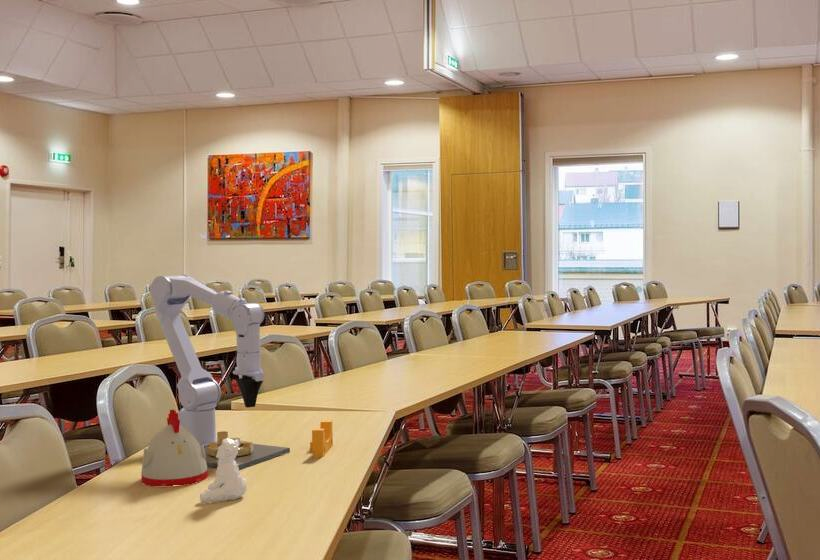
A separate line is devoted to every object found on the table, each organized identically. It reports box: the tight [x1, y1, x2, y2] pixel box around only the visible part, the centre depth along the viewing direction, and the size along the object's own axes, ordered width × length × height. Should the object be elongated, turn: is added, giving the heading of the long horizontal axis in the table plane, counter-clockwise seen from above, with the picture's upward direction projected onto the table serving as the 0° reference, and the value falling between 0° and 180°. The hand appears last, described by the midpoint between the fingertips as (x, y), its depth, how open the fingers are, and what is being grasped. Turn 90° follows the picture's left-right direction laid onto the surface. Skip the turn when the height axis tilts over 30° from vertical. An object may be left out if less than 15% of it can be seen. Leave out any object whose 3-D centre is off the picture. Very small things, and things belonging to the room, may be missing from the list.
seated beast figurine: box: [199, 437, 247, 504], centre depth 183 cm, size 10×9×12 cm
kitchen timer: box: [140, 409, 209, 487], centre depth 198 cm, size 14×14×15 cm
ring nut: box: [207, 431, 255, 457], centre depth 218 cm, size 11×10×6 cm
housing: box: [204, 437, 291, 471], centre depth 218 cm, size 20×20×4 cm
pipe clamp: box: [309, 420, 334, 458], centre depth 222 cm, size 12×4×6 cm, turn 174°
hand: (250, 406), depth 226 cm, fingers closed
